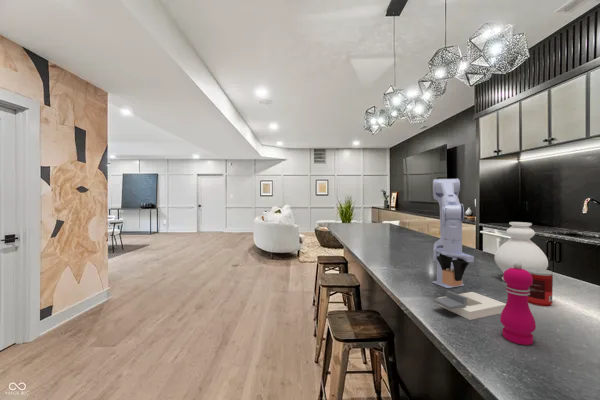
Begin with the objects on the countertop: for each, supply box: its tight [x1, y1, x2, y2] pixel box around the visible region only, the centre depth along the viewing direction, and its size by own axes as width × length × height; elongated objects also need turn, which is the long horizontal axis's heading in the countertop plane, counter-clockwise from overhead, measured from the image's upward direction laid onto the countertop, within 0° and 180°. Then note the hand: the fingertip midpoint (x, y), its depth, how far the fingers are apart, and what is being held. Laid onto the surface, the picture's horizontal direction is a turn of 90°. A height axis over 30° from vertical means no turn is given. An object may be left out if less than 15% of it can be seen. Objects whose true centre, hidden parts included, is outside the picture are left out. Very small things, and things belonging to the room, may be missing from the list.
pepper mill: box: [499, 262, 537, 346], centre depth 72 cm, size 7×7×20 cm
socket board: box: [437, 291, 506, 321], centre depth 91 cm, size 16×12×2 cm
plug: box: [442, 268, 462, 288], centre depth 95 cm, size 4×4×5 cm
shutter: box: [432, 290, 467, 310], centre depth 88 cm, size 7×7×3 cm
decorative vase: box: [494, 221, 549, 282], centre depth 117 cm, size 18×18×25 cm
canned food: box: [524, 268, 554, 307], centre depth 95 cm, size 8×8×11 cm
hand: (452, 278), depth 95 cm, fingers closed on plug, 4 cm apart
